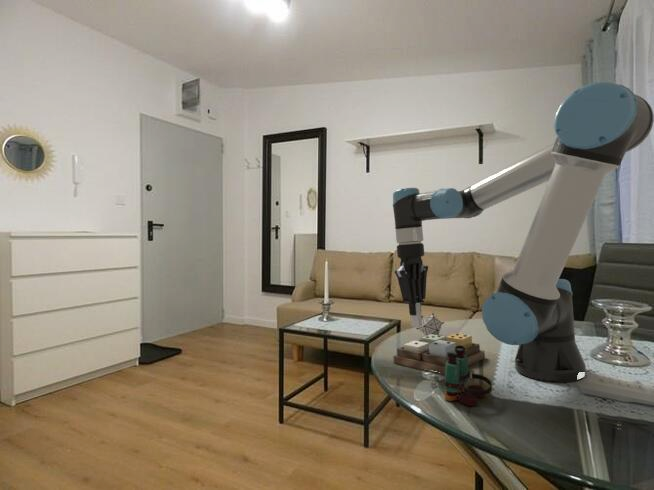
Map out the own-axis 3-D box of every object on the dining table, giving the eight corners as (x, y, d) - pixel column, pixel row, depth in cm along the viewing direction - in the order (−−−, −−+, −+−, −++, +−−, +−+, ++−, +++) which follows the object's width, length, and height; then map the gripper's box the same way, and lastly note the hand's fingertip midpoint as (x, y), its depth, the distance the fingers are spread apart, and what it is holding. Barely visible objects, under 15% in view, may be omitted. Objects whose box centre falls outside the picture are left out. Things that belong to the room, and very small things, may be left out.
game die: (436, 348, 133) (445, 329, 127) (412, 340, 134) (420, 320, 128) (439, 330, 140) (447, 311, 134) (416, 322, 141) (423, 303, 135)
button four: (472, 346, 108) (471, 334, 108) (463, 350, 105) (462, 338, 105) (456, 343, 112) (455, 332, 112) (446, 347, 109) (446, 336, 109)
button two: (456, 353, 103) (455, 341, 102) (446, 358, 99) (445, 346, 99) (440, 350, 106) (439, 339, 106) (429, 355, 103) (428, 343, 103)
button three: (445, 346, 115) (445, 335, 114) (436, 350, 111) (435, 339, 111) (431, 343, 118) (430, 333, 118) (422, 347, 115) (421, 337, 115)
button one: (429, 353, 109) (428, 342, 109) (419, 358, 106) (418, 346, 106) (415, 350, 113) (414, 339, 113) (404, 354, 109) (403, 343, 109)
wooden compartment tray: (484, 357, 108) (483, 343, 108) (450, 376, 96) (449, 360, 96) (430, 347, 122) (429, 335, 121) (393, 362, 110) (392, 349, 110)
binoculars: (485, 363, 76) (437, 352, 82) (484, 415, 76) (436, 400, 83) (498, 351, 82) (453, 341, 89) (497, 398, 83) (452, 385, 90)
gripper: (412, 242, 116) (419, 320, 116) (384, 245, 107) (391, 329, 107) (434, 241, 110) (440, 322, 110) (406, 244, 102) (413, 332, 102)
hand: (416, 325), depth 109 cm, fingers closed
